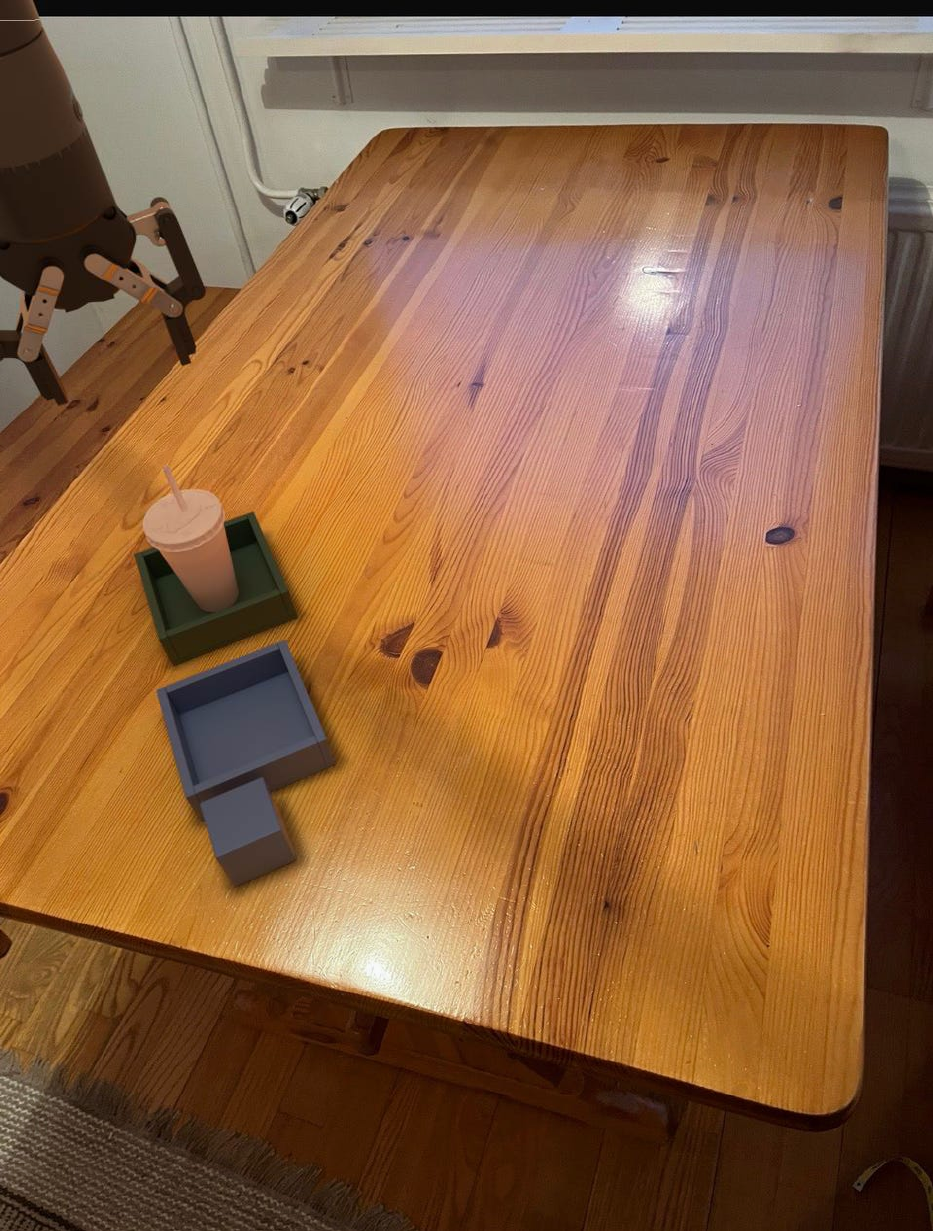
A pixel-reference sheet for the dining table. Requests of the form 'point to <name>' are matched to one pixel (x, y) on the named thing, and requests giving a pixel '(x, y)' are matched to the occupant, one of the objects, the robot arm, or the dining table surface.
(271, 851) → the blue block
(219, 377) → the dining table surface
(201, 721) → the blue bin
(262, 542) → the green bin
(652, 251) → the dining table surface
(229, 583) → the smoothie
